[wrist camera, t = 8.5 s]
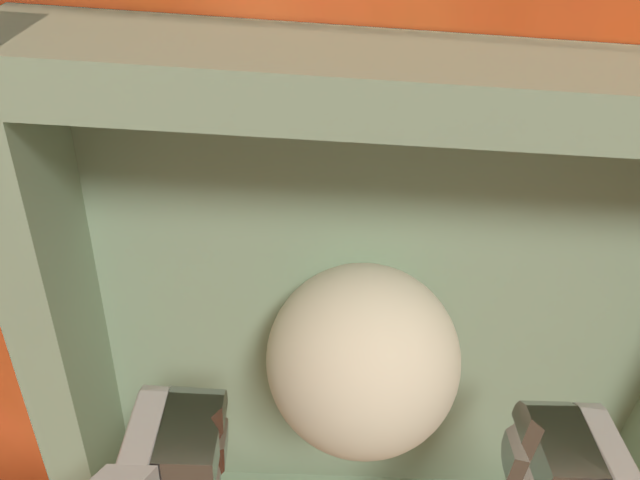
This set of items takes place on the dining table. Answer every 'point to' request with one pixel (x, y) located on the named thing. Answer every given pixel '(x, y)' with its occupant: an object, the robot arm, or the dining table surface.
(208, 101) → the tray
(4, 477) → the dining table surface
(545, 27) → the dining table surface
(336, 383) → the ball
